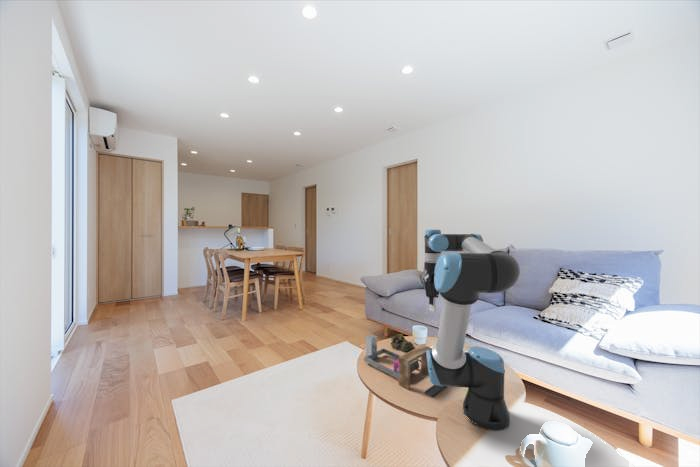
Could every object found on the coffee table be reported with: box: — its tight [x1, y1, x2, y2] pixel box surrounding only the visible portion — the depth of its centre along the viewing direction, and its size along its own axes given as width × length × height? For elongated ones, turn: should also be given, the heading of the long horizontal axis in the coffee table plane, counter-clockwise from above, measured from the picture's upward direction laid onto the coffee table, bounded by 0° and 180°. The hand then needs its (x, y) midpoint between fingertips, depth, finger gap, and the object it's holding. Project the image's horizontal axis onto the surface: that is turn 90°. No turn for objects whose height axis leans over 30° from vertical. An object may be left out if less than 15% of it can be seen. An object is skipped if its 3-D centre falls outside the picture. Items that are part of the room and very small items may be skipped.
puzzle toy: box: [393, 359, 412, 375], centre depth 126 cm, size 6×6×6 cm
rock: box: [390, 333, 416, 352], centre depth 154 cm, size 13×10×10 cm
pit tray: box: [424, 384, 448, 398], centre depth 114 cm, size 4×12×1 cm, turn 132°
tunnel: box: [398, 344, 432, 391], centre depth 121 cm, size 5×18×12 cm, turn 132°
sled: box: [363, 334, 420, 380], centre depth 133 cm, size 26×15×11 cm, turn 42°
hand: (432, 310), depth 129 cm, fingers closed
